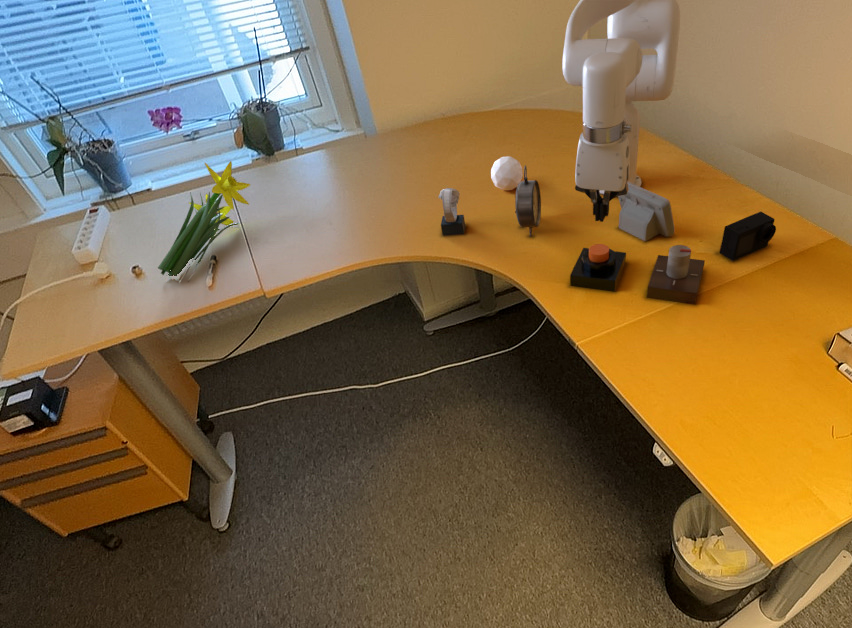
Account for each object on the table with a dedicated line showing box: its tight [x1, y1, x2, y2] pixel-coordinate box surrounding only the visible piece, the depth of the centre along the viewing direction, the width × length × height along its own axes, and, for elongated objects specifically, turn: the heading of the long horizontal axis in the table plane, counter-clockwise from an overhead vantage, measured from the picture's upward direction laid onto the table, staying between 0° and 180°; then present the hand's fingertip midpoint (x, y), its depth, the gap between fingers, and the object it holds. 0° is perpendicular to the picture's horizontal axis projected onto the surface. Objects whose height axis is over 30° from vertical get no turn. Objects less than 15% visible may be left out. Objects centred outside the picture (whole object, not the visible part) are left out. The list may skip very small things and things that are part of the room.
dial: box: [666, 244, 692, 279], centre depth 121 cm, size 4×4×6 cm
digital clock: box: [617, 182, 676, 242], centre depth 137 cm, size 16×9×11 cm, turn 26°
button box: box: [569, 247, 627, 293], centre depth 128 cm, size 11×10×5 cm
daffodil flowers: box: [157, 160, 251, 276], centre depth 151 cm, size 17×15×35 cm
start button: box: [588, 243, 610, 263], centre depth 126 cm, size 4×4×2 cm
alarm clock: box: [514, 165, 542, 238], centre depth 141 cm, size 11×5×16 cm, turn 168°
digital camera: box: [719, 211, 777, 262], centre depth 128 cm, size 10×5×7 cm, turn 117°
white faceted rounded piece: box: [490, 155, 524, 191], centre depth 160 cm, size 9×9×12 cm
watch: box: [438, 187, 466, 237], centre depth 145 cm, size 6×8×11 cm
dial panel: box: [646, 254, 706, 305], centre depth 124 cm, size 12×10×3 cm
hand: (600, 217), depth 120 cm, fingers closed
